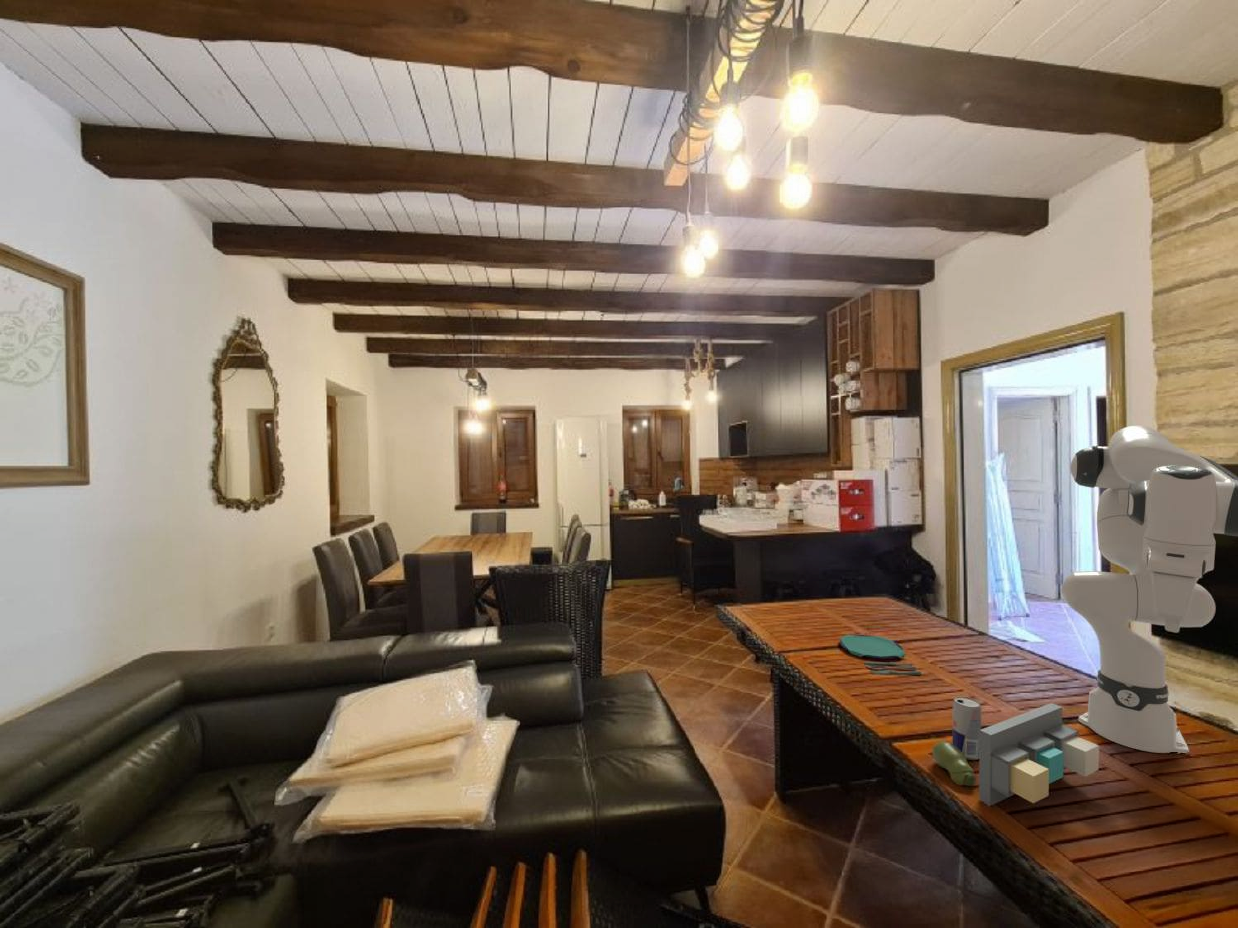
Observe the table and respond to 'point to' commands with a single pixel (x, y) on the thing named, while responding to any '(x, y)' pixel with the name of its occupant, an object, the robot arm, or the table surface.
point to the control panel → (1017, 747)
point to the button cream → (1080, 755)
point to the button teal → (1051, 762)
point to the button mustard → (1029, 780)
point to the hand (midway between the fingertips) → (1172, 629)
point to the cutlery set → (876, 652)
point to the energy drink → (967, 726)
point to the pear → (954, 763)
